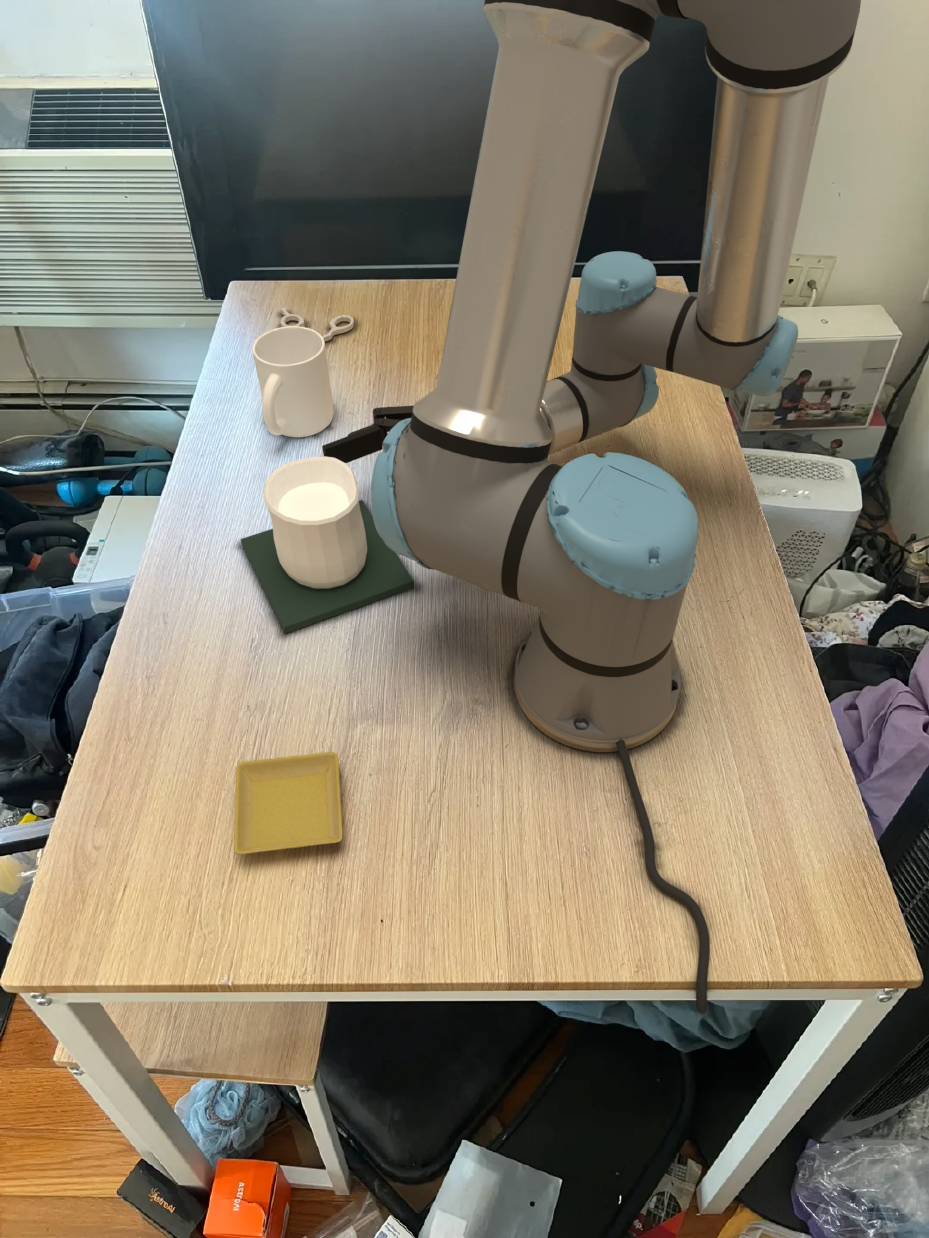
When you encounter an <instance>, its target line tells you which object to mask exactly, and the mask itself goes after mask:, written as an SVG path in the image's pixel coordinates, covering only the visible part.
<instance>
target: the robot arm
mask: <svg viewBox="0 0 929 1238" xmlns="http://www.w3.org/2000/svg"><path fill="white" fill-rule="evenodd" d="M861 3H862V0H484V3H483V10H482V15H483V16H484V19H485V21H486V23H487V24H488V26H489V28H490V29H491V31H492V33H493V35H494V37H495V39H496V42H497V46H498V49H497V50H498V51H497V57H496V61H495V67H494V72H493V78H492V83H491V87H490V94H489V100H488V105H487V111H486V116H485V122H484V127H483V131H482V137H481V142H480V148H479V153H478V159H477V165H476V171H475V175H474V181H473V185H472V191H471V197H470V203H469V208H468V213H467V218H466V223H465V229H464V235H463V240H462V246H461V250H460V256H459V261H458V266H457V272H456V278H455V282H454V283H455V284H454V289H453V294H452V300H451V305H450V310H449V316H448V321H447V326H446V332H445V338H444V343H443V347H442V352H441V353H442V354H441V358H440V363H439V369H438V376H437V380H436V386H435V388H434V389H433V390H432V391H430V392H428V394H426V395H425V396H423V397H422V398H420V399H418V400H417V401H415V403H414V404H413V405H400V406H383V407H382V406H381V407H375V408H373V409H372V418H373V423H372V424H370V425H367V426H365V427H362V428H359V429H357V430H354V431H351V432H350V433H348V434H347V436H344V437H342V438H339V439H336V440H334V441H330V442H329V443H326V444H322V445H321V448H322V449H321V450H322V454H323V455H322V456H325V457H332V458H336V459H338V460H340V461H342V462H344V463H346V464H348V463H351V462H354V461H356V460H358V459H361V458H364V457H366V456H370V455H372V454H375V453H377V452H379V453H377V456H376V459H375V462H374V465H373V471H372V475H371V484H370V508H371V509H370V510H371V515H372V517H373V520H374V524H375V527H376V530H377V532H378V534H379V535H380V537H381V538H382V539H383V541H384V542H385V544H386V545H387V546H388V547H389V548H390V549H391V550H393V551H394V552H395V553H396V554H397V555H400V556H403V557H405V558H407V559H409V560H412V561H413V562H415V563H416V564H417V565H419V566H421V567H422V568H424V569H427V570H433V571H437V572H439V573H442V574H445V575H447V576H451V577H453V578H455V579H458V580H462V581H464V582H466V583H469V584H472V585H475V586H477V587H480V588H483V589H486V590H488V591H491V592H494V593H495V594H499V595H502V596H504V597H507V598H509V599H512V600H514V601H517V602H520V603H523V604H525V605H528V606H531V607H533V608H535V609H538V610H539V615H538V617H537V619H536V621H535V622H534V624H533V626H532V628H531V630H530V631H529V633H528V634H527V636H526V637H525V638H524V640H523V641H522V643H521V645H520V647H519V648H518V650H517V654H516V657H515V663H514V679H513V683H514V684H513V685H514V691H515V692H514V693H515V696H516V699H517V702H518V704H519V706H520V708H521V710H522V711H523V713H524V715H525V716H526V718H527V719H528V720H529V721H530V722H531V724H532V725H533V726H534V727H536V729H538V730H539V731H540V732H541V733H543V734H544V735H546V736H547V737H549V738H551V739H552V740H554V741H556V742H558V743H560V744H563V745H564V746H567V747H570V748H573V749H577V750H581V751H586V752H592V753H593V752H595V753H614V752H618V755H619V758H620V761H621V764H622V768H623V771H624V775H625V778H626V781H627V786H628V788H629V791H630V794H631V798H632V801H633V804H634V807H635V810H636V813H637V817H638V820H639V824H640V827H641V831H642V836H643V841H644V864H645V867H646V872H647V874H648V876H649V878H650V879H651V881H652V882H653V883H654V885H655V886H657V888H659V889H660V890H661V891H663V892H664V893H666V894H667V895H669V896H671V897H673V898H674V899H676V900H678V901H680V902H681V903H682V904H684V905H685V906H686V907H687V908H688V909H689V911H690V913H691V915H692V917H693V919H694V922H695V925H696V929H697V935H698V960H697V969H696V981H695V982H696V985H695V1006H696V1010H697V1011H698V1013H699V1014H701V1015H704V1014H706V1013H707V1010H708V978H709V966H710V955H711V953H710V952H711V946H710V945H711V941H710V933H709V928H708V924H707V921H706V919H705V916H704V913H703V911H702V909H701V908H700V906H699V904H698V903H697V902H696V901H695V900H694V898H692V897H691V896H690V895H689V894H688V893H686V892H684V891H683V890H681V889H680V888H678V887H676V886H675V885H673V884H670V883H669V882H668V881H667V880H665V879H664V878H663V877H662V876H661V875H660V873H659V871H658V869H657V867H656V859H655V858H656V857H655V856H656V855H655V853H656V847H655V846H656V845H655V839H654V838H655V837H654V833H653V830H652V826H651V823H650V820H649V816H648V811H647V809H646V806H645V803H644V800H643V796H642V794H641V791H640V787H639V784H638V781H637V777H636V775H635V771H634V767H633V765H632V761H631V758H630V755H629V751H628V750H630V749H633V748H636V747H639V746H641V745H643V744H645V743H647V742H649V741H650V740H652V739H653V738H656V737H657V736H658V735H659V734H660V733H661V732H662V731H663V730H664V729H665V728H666V727H667V726H668V724H669V723H670V722H671V719H672V718H673V716H674V714H675V711H676V708H677V705H678V702H679V698H680V694H681V690H682V674H681V669H680V664H679V659H678V656H677V652H676V647H675V642H674V636H675V633H676V628H677V626H678V625H677V624H678V620H679V616H680V613H681V608H682V606H683V601H684V597H685V594H686V591H687V587H688V583H689V582H690V580H691V577H692V575H693V573H694V571H695V567H696V556H697V554H696V549H697V543H698V538H699V517H698V514H697V509H696V507H695V505H694V504H693V502H692V501H691V500H690V499H689V496H688V493H687V491H686V489H685V488H684V487H683V485H681V483H679V481H678V480H677V479H676V478H675V477H673V476H672V475H671V474H670V473H669V472H667V471H665V470H664V469H663V468H661V467H659V466H658V465H656V464H654V463H651V462H650V461H648V460H646V459H643V458H640V457H638V456H634V455H631V454H626V453H620V452H612V451H611V452H610V451H609V452H608V451H607V452H606V451H605V453H604V454H603V455H602V457H600V456H599V455H597V454H595V452H594V453H587V454H584V455H581V456H578V457H576V458H574V459H572V460H570V461H568V462H567V463H565V464H564V465H563V466H562V465H559V464H557V463H554V462H552V461H549V459H548V458H549V456H551V455H552V454H554V453H558V452H560V451H562V450H565V449H567V448H569V447H570V448H571V447H572V446H575V445H577V444H580V443H582V442H584V441H587V440H589V439H593V438H595V437H597V436H599V435H603V434H605V433H607V432H609V431H613V430H615V429H618V428H622V427H626V426H628V425H629V424H631V423H632V422H633V421H635V420H637V419H639V418H642V417H643V416H645V415H646V414H648V413H650V412H651V411H652V410H653V408H654V407H655V406H656V404H657V401H658V399H659V393H660V392H659V391H660V387H659V385H658V383H657V379H658V374H657V371H656V369H659V370H663V371H667V372H670V373H674V374H678V375H681V376H684V377H688V378H691V379H694V380H698V381H701V382H704V383H707V384H711V385H714V386H717V387H721V388H724V389H728V390H730V391H731V392H734V393H735V392H742V393H745V394H746V393H747V394H752V395H755V396H760V397H769V396H772V395H773V394H775V393H776V392H777V391H778V390H779V388H780V386H781V384H782V382H783V380H784V378H785V376H786V373H787V371H788V368H789V365H790V363H791V360H792V357H793V354H794V352H795V348H796V345H797V341H798V338H799V327H798V324H797V323H796V322H794V321H792V320H789V319H786V318H784V316H782V315H779V313H780V310H781V309H780V308H781V303H782V299H783V295H784V290H785V286H786V281H787V276H788V271H789V267H790V262H791V257H792V252H793V247H794V243H795V238H796V237H795V236H796V233H797V228H798V225H799V220H800V216H801V211H802V206H803V202H804V196H805V191H806V186H807V182H808V177H809V173H810V168H811V164H812V158H813V154H814V150H815V145H816V140H817V135H818V131H819V126H820V122H821V117H822V112H823V107H824V102H825V98H826V94H827V88H828V85H829V84H828V83H829V80H830V77H831V76H832V75H834V74H835V73H836V72H837V71H838V70H839V69H841V67H842V66H843V64H844V63H845V62H846V60H847V59H848V57H849V55H850V53H851V50H852V46H853V42H854V38H855V34H856V33H855V32H856V29H857V26H858V20H859V16H860V13H861V5H862V4H861ZM659 16H662V17H668V18H669V17H670V18H677V19H682V20H687V19H693V20H695V21H698V22H700V23H702V25H703V26H704V27H705V28H706V31H705V43H704V54H705V59H706V62H707V64H708V67H709V68H710V70H711V71H712V72H713V73H714V74H715V75H716V76H717V80H716V89H715V90H716V91H715V103H714V113H713V123H712V135H711V147H710V156H709V166H708V167H709V168H708V178H707V189H706V199H705V211H704V221H703V222H704V223H703V232H702V233H703V234H702V242H701V243H702V244H701V253H700V265H699V276H698V286H697V296H694V295H691V294H686V293H682V292H678V291H675V290H671V289H666V288H663V287H658V286H657V281H658V280H657V271H656V267H655V266H654V263H652V261H650V260H649V259H645V258H643V256H641V255H640V254H638V253H634V252H630V251H620V250H617V251H615V250H614V251H609V252H603V253H601V254H598V255H596V256H593V257H592V258H591V259H590V260H589V261H588V262H587V263H585V265H584V267H583V269H582V271H581V276H580V282H579V288H578V293H577V299H576V301H575V320H574V331H573V332H574V333H573V343H572V354H571V355H572V357H571V365H570V370H569V371H568V372H566V373H564V374H561V375H559V376H557V377H554V378H551V379H548V377H549V373H550V369H551V365H552V361H553V358H554V357H553V356H554V352H555V348H556V344H557V339H558V335H559V331H560V328H561V324H562V319H563V315H564V310H565V306H566V302H567V298H568V293H569V289H570V285H571V282H572V276H573V273H574V270H575V269H574V268H575V264H576V260H577V256H578V252H579V248H580V243H581V239H582V235H583V231H584V227H585V223H586V218H587V213H588V209H589V205H590V201H591V197H592V193H593V189H594V185H595V180H596V176H597V173H598V167H599V163H600V159H601V154H602V151H603V146H604V142H605V139H606V134H607V129H608V125H609V121H610V117H611V112H612V110H613V104H614V100H615V96H616V91H617V88H618V84H619V79H620V76H621V74H623V72H624V71H625V70H626V69H627V68H628V67H630V66H632V64H633V63H635V62H636V61H637V60H638V59H640V58H641V57H643V56H644V55H645V54H647V52H648V51H649V48H650V46H651V45H650V44H651V41H652V37H653V32H654V29H655V25H656V21H657V19H658V17H659ZM380 451H382V452H380Z"/></svg>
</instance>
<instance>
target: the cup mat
mask: <svg viewBox="0 0 929 1238" xmlns="http://www.w3.org/2000/svg"><path fill="white" fill-rule="evenodd" d="M359 506H360V512H361V515H362V519H363V523H364V528H365V534H366V542H367V554H366V560H365V565H364V567H363V568H362V570H361V571H360V572H359V574H358V575H357V576H356V577H355V578H354V579H352V580H351V581H349V582H348V583H346V584H345V585H342V586H338V587H334V588H330V589H315V588H312V587H308V586H305V585H301V584H299V583H298V582H297V581H295V580H294V579H292V578H291V577H290V576H289V575H288V574H287V573H286V571H285V570H284V569H283V567H282V565H281V564H280V562H279V558H278V555H277V551H276V546H275V542H274V535H273V528H271V529H268V530H267V529H266V530H264V531H260V532H258V533H255V534H252V535H249V536H246V537H243V538H241V539H240V543H241V546H242V549H243V550H244V552H245V554H246V556H247V559H248V561H249V562H250V565H251V567H252V569H253V571H254V573H255V575H256V578H257V579H258V582H259V584H260V585H261V587H262V590H263V592H264V594H265V596H266V598H267V600H268V602H269V604H270V606H271V608H272V610H273V612H274V614H275V616H276V618H277V621H278V623H279V625H280V626H281V629H282V631H283V633H284V634H289V633H291V632H292V633H293V632H295V631H297V630H300V629H302V628H305V627H309V626H311V625H313V624H316V623H320V622H322V621H325V620H328V619H330V618H333V617H336V616H339V615H341V614H345V613H347V612H350V611H353V610H355V609H358V608H361V607H363V606H367V605H369V604H372V603H375V602H378V601H381V600H383V599H386V598H388V597H391V596H394V595H397V594H400V593H403V592H406V591H408V590H411V589H413V588H415V582H414V579H413V578H412V576H411V574H410V573H409V571H408V570H407V568H406V566H405V565H404V563H403V562H402V560H401V559H400V557H399V556H398V553H396V552H394V551H393V550H391V549H390V548H389V547H388V546H387V545H386V544H385V542H384V541H383V539H382V538H381V537H380V535H379V534H378V532H377V530H376V527H375V524H374V520H373V516H372V512H370V510H369V509H368V507H367V505H366V504H365V502H364V501H363V500H362V499H359Z"/></svg>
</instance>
